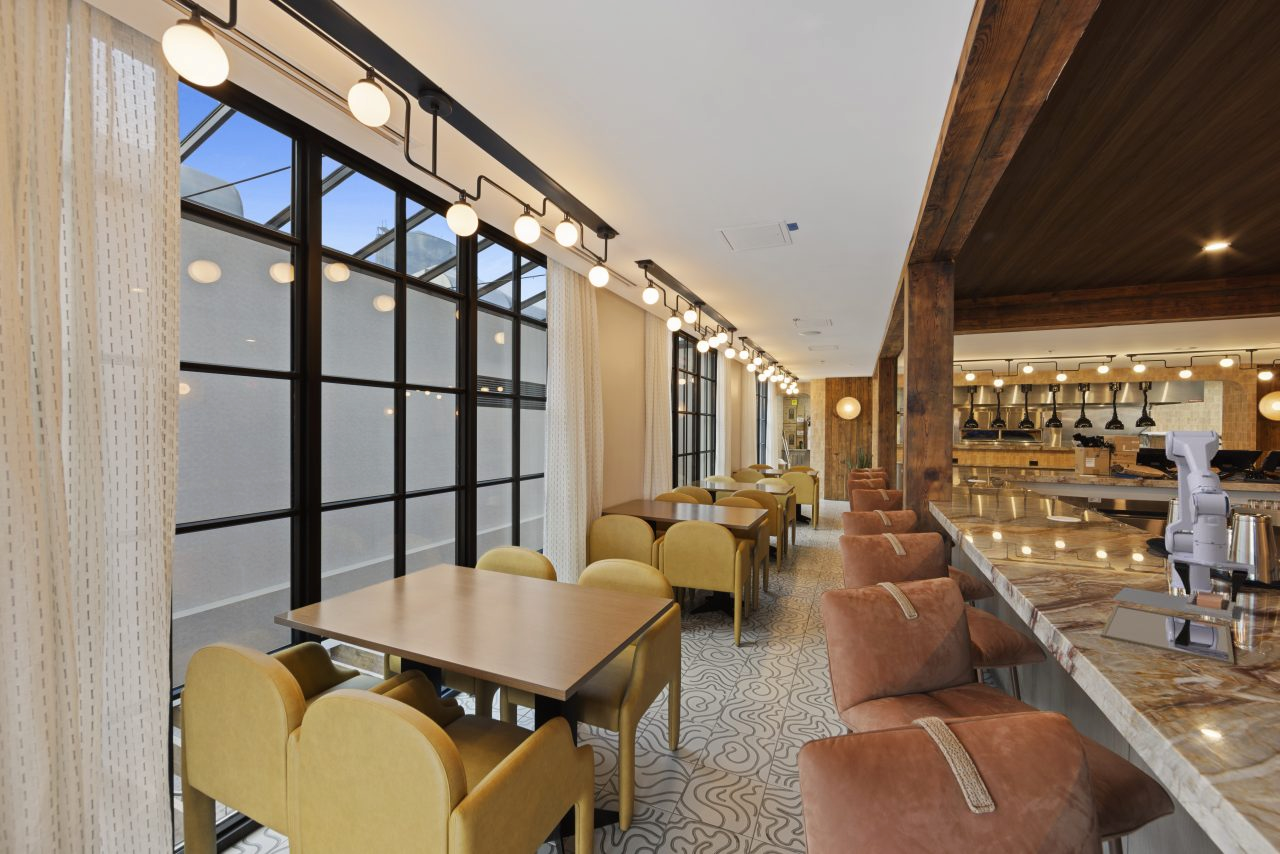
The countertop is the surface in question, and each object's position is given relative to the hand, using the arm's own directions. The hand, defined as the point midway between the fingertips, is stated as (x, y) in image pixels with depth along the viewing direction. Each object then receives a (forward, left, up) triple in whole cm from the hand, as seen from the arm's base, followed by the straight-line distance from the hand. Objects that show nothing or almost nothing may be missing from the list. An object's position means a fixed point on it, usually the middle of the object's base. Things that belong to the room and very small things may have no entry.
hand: (1210, 597), depth 132 cm
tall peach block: (0, 0, -3) cm, 3 cm away
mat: (0, -6, -3) cm, 7 cm away
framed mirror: (+28, -5, -4) cm, 29 cm away
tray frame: (0, 0, -3) cm, 3 cm away
